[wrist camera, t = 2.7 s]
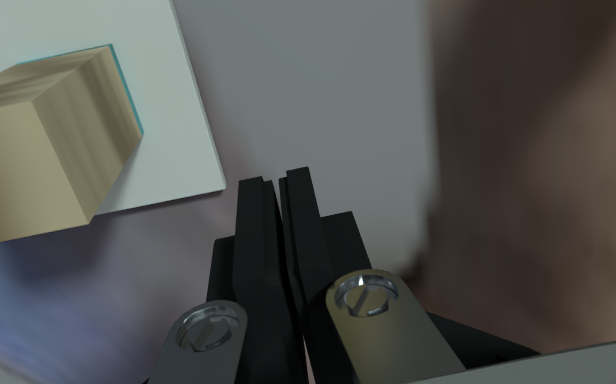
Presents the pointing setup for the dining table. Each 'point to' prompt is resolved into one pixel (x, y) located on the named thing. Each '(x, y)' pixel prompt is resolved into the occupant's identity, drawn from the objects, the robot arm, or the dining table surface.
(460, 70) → the dining table surface
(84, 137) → the oak block
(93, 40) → the grey mat
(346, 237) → the robot arm
